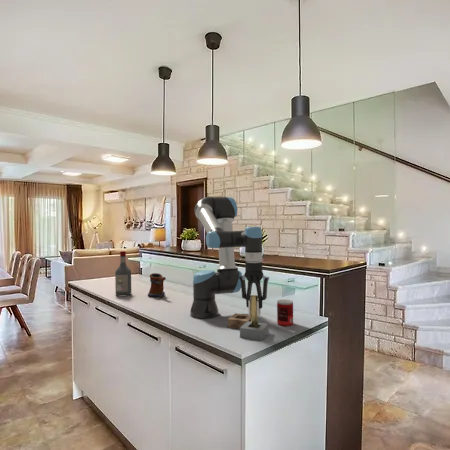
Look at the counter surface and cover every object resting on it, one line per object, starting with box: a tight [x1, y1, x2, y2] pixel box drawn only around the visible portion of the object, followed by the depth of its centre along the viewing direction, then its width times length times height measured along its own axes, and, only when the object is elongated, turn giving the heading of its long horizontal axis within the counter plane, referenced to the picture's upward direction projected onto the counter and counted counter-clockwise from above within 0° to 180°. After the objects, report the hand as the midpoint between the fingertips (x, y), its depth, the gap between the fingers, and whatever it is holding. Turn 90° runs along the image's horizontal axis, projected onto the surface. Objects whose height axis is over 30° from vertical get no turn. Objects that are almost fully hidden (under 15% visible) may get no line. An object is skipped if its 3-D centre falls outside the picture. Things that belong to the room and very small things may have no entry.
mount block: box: [227, 312, 251, 330], centre depth 156 cm, size 10×10×4 cm
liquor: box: [114, 250, 132, 296], centre depth 226 cm, size 9×9×30 cm
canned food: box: [276, 299, 294, 327], centre depth 158 cm, size 8×8×11 cm
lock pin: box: [250, 294, 259, 328], centre depth 143 cm, size 3×3×14 cm
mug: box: [147, 272, 167, 299], centre depth 218 cm, size 18×12×15 cm, turn 37°
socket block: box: [239, 321, 270, 341], centre depth 143 cm, size 10×10×4 cm
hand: (254, 315), depth 143 cm, fingers closed on lock pin, 3 cm apart
